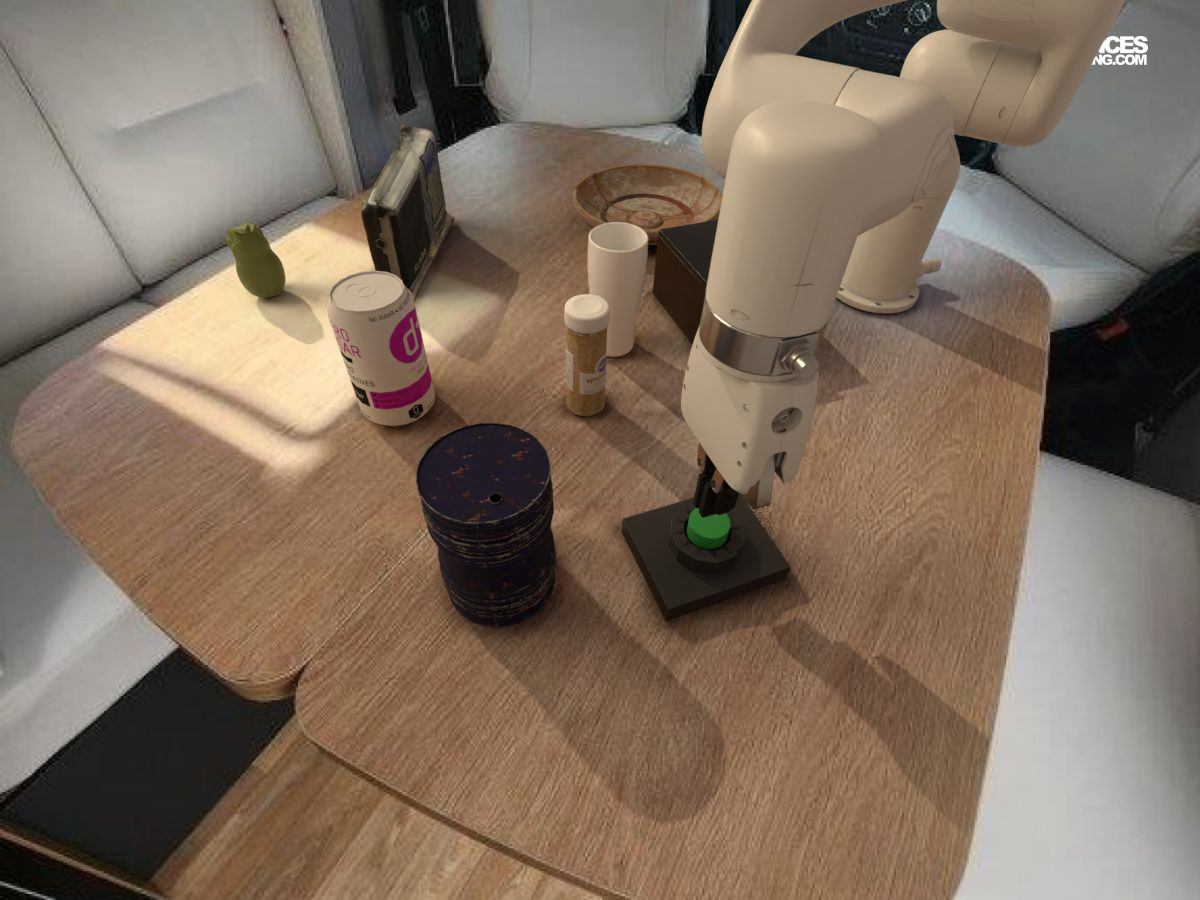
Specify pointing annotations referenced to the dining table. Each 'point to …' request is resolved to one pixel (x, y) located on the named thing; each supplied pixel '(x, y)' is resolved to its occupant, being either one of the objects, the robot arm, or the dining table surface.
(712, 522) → the button
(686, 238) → the cabinet
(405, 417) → the soda can
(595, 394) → the sprinkles bottle
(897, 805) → the dining table surface
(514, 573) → the storage jar
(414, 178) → the radio
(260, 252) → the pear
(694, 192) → the ceramic bowl
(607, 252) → the tall white cup
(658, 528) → the control block
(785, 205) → the robot arm
